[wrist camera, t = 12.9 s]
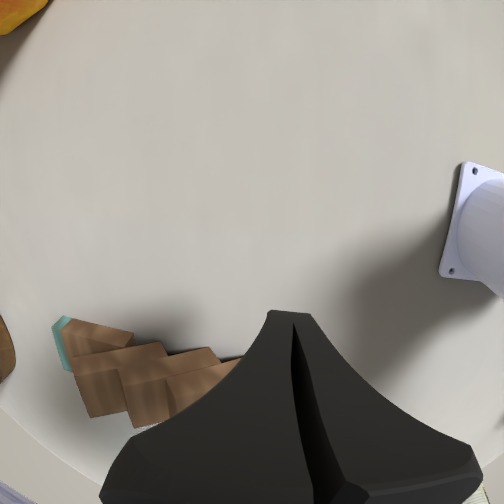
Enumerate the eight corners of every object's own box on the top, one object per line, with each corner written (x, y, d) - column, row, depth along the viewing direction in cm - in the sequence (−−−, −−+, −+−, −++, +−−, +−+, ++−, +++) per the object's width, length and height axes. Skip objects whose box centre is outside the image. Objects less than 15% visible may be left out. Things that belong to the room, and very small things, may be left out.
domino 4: (272, 369, 21) (175, 398, 17) (264, 410, 22) (180, 439, 19) (256, 353, 22) (165, 377, 19) (250, 394, 24) (170, 419, 20)
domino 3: (221, 362, 21) (123, 386, 17) (219, 404, 22) (134, 428, 19) (208, 346, 22) (116, 367, 19) (207, 388, 24) (126, 409, 20)
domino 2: (168, 357, 21) (74, 376, 17) (173, 399, 22) (90, 418, 19) (160, 341, 22) (71, 357, 19) (164, 383, 24) (86, 400, 20)
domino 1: (123, 347, 21) (51, 327, 21) (131, 390, 22) (63, 369, 23) (133, 332, 23) (63, 315, 23) (140, 374, 24) (74, 356, 24)
